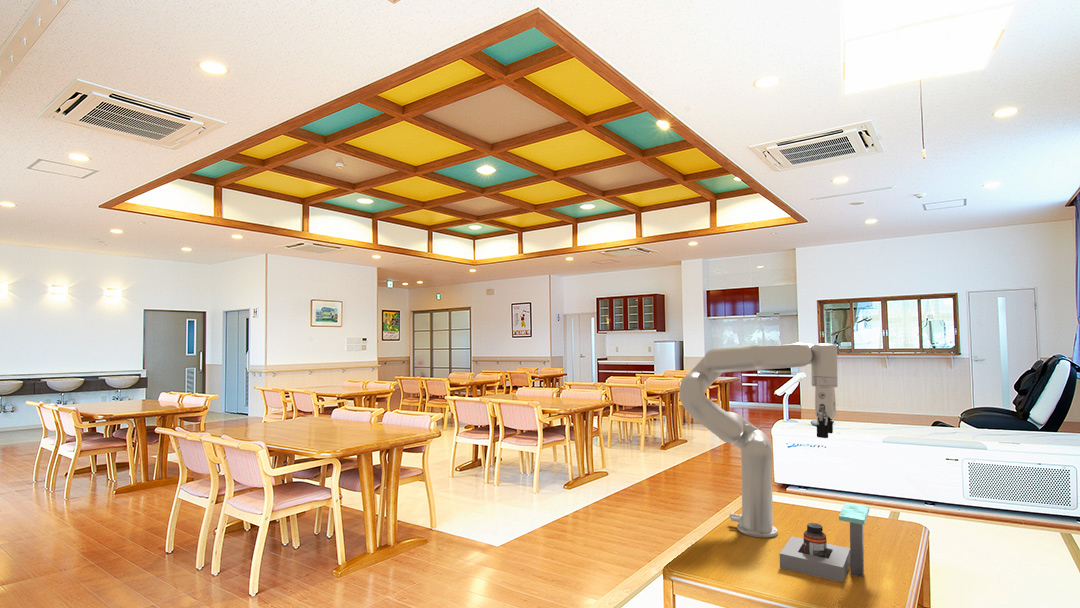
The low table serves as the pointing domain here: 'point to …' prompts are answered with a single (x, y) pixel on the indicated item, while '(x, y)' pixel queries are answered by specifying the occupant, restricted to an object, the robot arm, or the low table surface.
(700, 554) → the low table surface
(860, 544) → the teal-capped gray pillar
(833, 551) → the socket block
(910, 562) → the low table surface
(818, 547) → the supplement bottle
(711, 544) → the low table surface
